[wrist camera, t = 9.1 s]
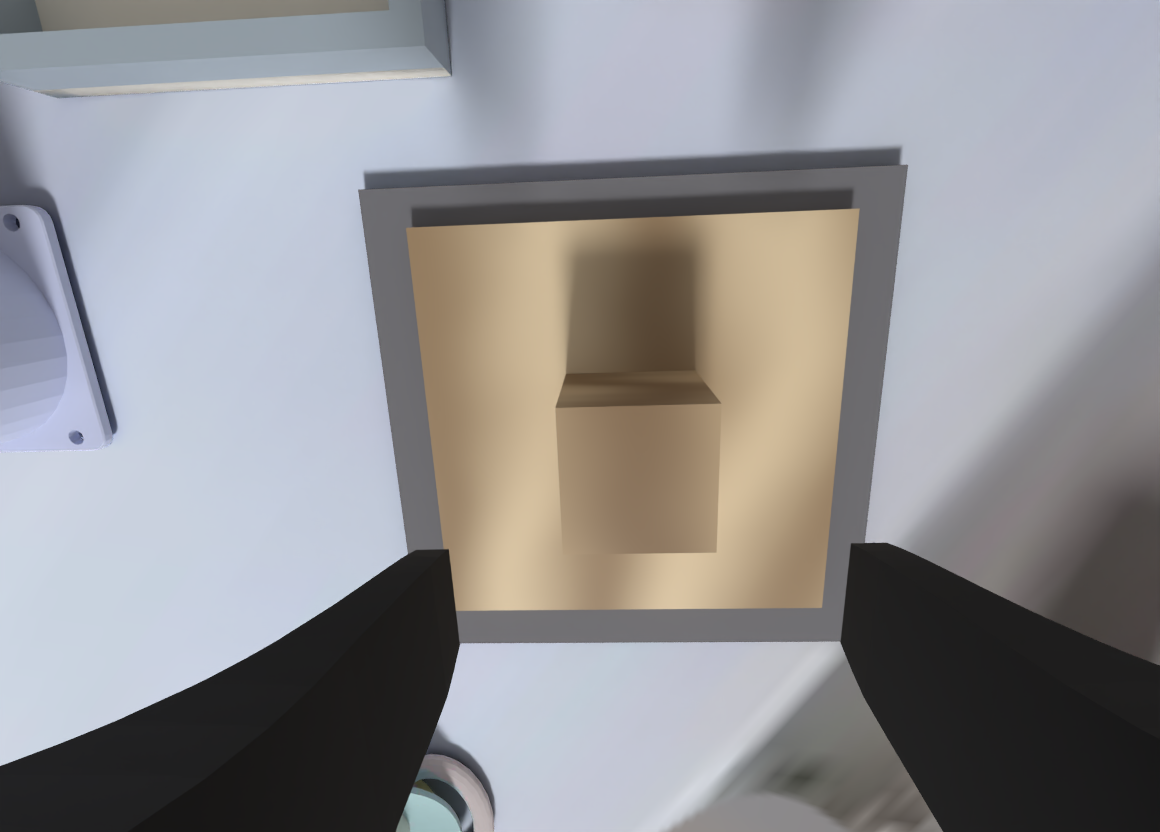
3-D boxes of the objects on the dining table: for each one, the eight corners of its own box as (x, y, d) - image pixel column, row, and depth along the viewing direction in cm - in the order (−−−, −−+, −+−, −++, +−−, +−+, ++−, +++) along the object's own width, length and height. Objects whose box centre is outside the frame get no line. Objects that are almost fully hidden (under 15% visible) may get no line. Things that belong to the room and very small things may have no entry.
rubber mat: (424, 634, 22) (420, 643, 21) (365, 191, 17) (358, 189, 17) (847, 632, 21) (853, 641, 20) (898, 167, 16) (908, 164, 16)
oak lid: (455, 600, 21) (414, 695, 16) (412, 228, 17) (345, 220, 13) (815, 597, 20) (875, 695, 16) (850, 209, 16) (941, 194, 12)
